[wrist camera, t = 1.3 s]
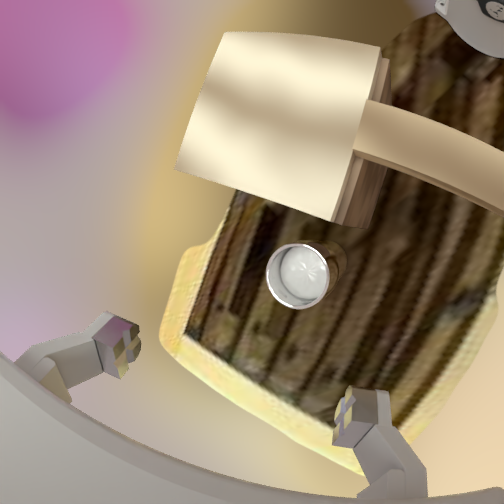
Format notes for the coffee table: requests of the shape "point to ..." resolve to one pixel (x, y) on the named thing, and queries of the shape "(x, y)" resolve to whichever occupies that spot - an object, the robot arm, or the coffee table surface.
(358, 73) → the beige t-shaped block
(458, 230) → the coffee table surface
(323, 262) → the beer glass
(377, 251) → the coffee table surface
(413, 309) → the coffee table surface
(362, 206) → the stand
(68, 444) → the robot arm
